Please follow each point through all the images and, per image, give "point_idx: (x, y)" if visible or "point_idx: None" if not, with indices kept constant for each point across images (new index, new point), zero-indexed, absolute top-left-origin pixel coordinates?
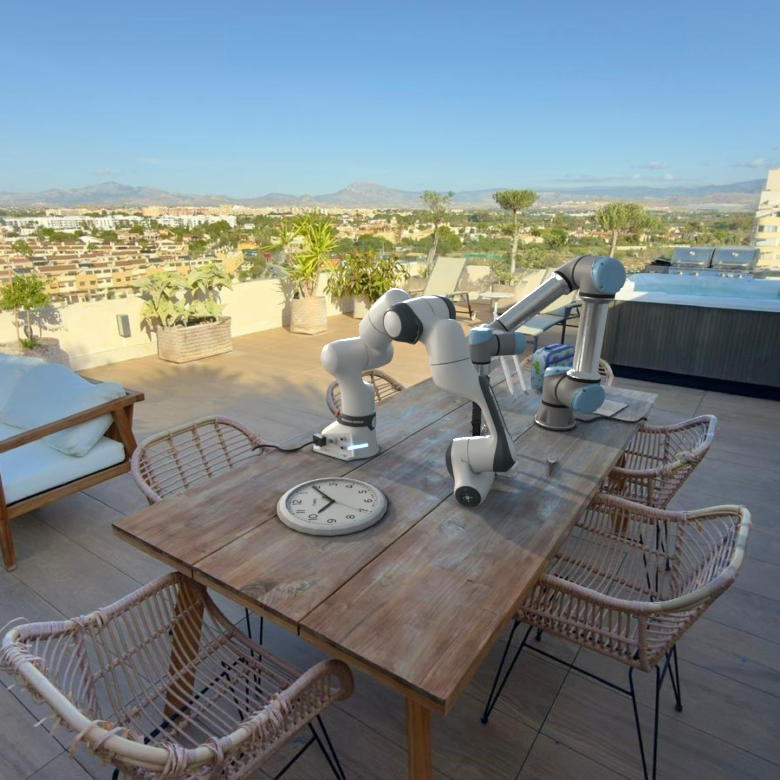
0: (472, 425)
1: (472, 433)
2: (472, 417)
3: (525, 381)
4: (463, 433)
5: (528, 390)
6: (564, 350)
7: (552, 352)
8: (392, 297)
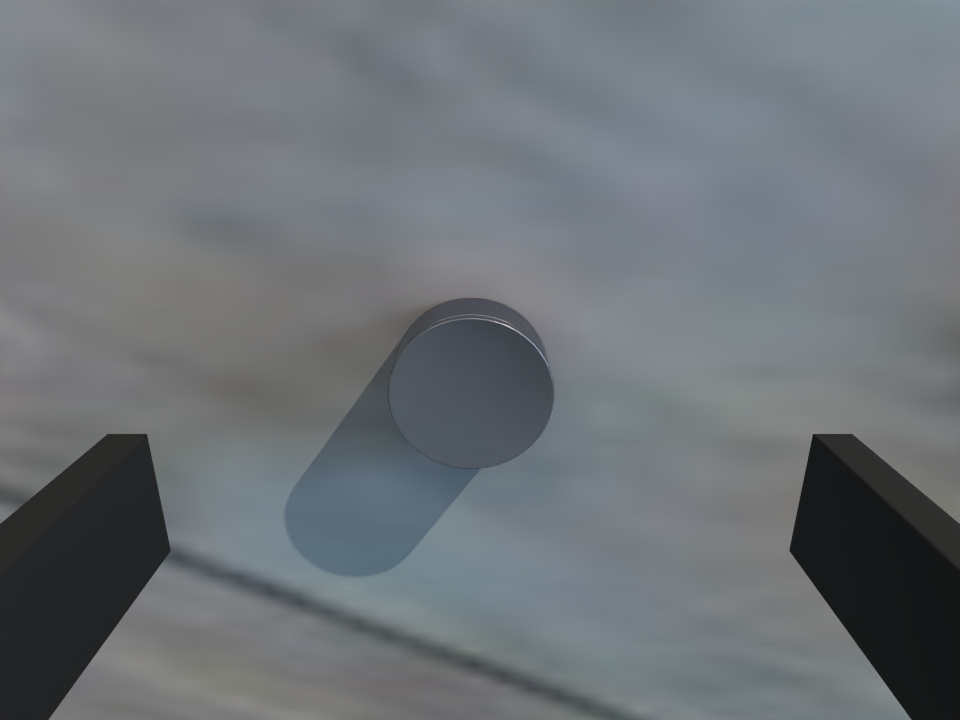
0: (817, 454)
1: (9, 521)
2: (924, 549)
3: None
4: (951, 242)
5: None
6: None
7: None
8: None
